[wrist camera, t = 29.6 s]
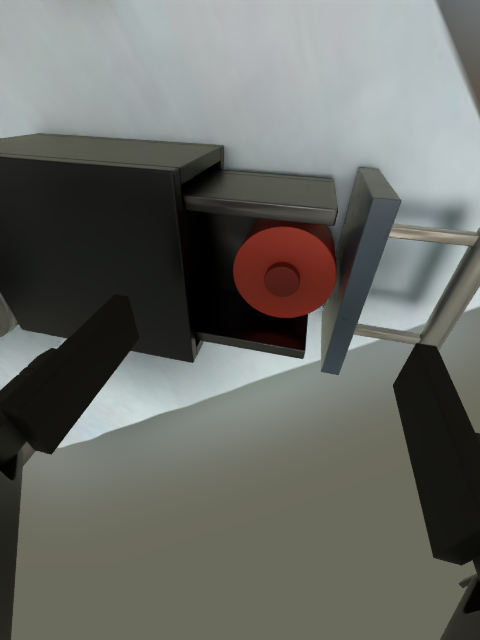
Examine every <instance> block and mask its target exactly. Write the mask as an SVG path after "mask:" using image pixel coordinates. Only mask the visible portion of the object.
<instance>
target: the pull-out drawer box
mask: <svg viewBox="0 0 480 640" xmlns="http://www.w3.org/2000/svg"><path fill="white" fill-rule="evenodd" d="M180 186H181V197H182V207H183V218H184V228H185V239H186V249H187V260H188V270H189V280H190V291H191V301H192V312H193V322H194V333H195V340H201V341H206V342H212V343H217V344H223V345H228V346H234V347H239V348H245V349H250V350H256V351H261V352H267V353H272V354H278V355H283V356H289V357H294V358H300V359H303V358H304V354H305V347H306V334H307V321H308V314H306V315H303V316H299V317H293V318H280V317H274V316H270V315H267V314H264V313H262V312H260V311H258V310H256V309H255V308H253V307H252V306H251V305H250V304H248V303H247V302H246V301H245V299H244V298H243V297H242V296H241V294H240V293H239V291H238V289H237V287H236V284H235V281H234V275H233V266H234V261H235V257H236V255H237V252H238V251H239V249H240V247H241V245H242V243H243V242H244V240H245V238H246V236H247V234H248V233H249V231H250V229H251V228H252V226H253V225H254V224H255V223H256V222H257V221H258V220H259V219H260V218H263V219H273V220H282V221H292V222H301V223H311V224H320V225H330V226H334V225H335V221H336V217H337V213H338V207H337V198H336V189H335V181H334V179H324V178H311V177H299V176H286V175H273V174H261V173H248V172H236V171H223V170H211V169H206V170H204V171H203V172H201V173H199V174H198V175H196V176H195V177H193V178H191V179H190V180H188V181H187V182H185V183H184V184H182V185H180ZM400 204H401V199H400V198H399V196H398V195H397V194H396V192H395V191H394V189H393V188H392V187H391V185H390V184H389V183H388V181H387V180H386V178H385V177H384V176H383V174H382V173H381V172H380V170H379V169H371V168H359V169H358V173H357V177H356V181H355V185H354V189H353V193H352V197H351V201H350V205H349V209H348V213H347V217H346V220H345V224H344V228H343V232H342V236H341V240H340V244H339V248H338V252H337V256H336V271H337V273H336V282H335V286H334V289H333V291H332V293H331V295H330V296H329V298H328V299H327V300H326V301H325V303H324V307H323V311H322V328H321V372H325V373H330V374H336V375H339V372H340V370H341V367H342V364H343V361H344V359H345V356H346V353H347V350H348V348H349V345H350V342H351V339H352V337H353V334H354V335H360V336H366V337H372V338H379V339H385V340H392V341H397V342H403V343H410V344H415V345H416V343H421V344H427V345H433V346H437V348H438V351H439V349H440V348H441V346H442V345H443V343H444V342H445V340H446V338H447V337H448V335H449V334H450V332H451V330H452V329H453V327H454V326H455V324H456V322H457V321H458V320H459V318H460V317H461V315H462V313H463V312H464V310H465V309H466V307H467V306H468V304H469V302H470V301H471V299H472V298H473V296H474V295H475V293H476V291H477V290H478V288H479V287H480V228H479V229H478V230H477V232H476V233H475V232H471V231H461V230H451V229H441V228H431V227H422V226H412V225H402V224H393V223H394V220H395V217H396V215H397V212H398V209H399V206H400ZM388 237H391V238H400V239H409V240H419V241H428V242H437V243H446V244H456V245H465V246H469V247H468V248H467V250H466V252H465V254H464V256H463V257H462V259H461V261H460V263H459V265H458V267H457V268H456V270H455V272H454V274H453V276H452V277H451V279H450V281H449V283H448V285H447V286H446V288H445V290H444V292H443V294H442V295H441V297H440V299H439V301H438V303H437V304H436V306H435V308H434V310H433V312H432V314H431V315H430V317H429V319H428V321H427V323H426V324H425V326H424V328H423V330H422V332H421V334H419V333H414V332H407V331H401V330H395V329H388V328H382V327H376V326H369V325H363V324H357V323H358V320H359V317H360V314H361V312H362V309H363V306H364V303H365V301H366V298H367V295H368V292H369V289H370V287H371V284H372V281H373V278H374V276H375V273H376V270H377V267H378V265H379V262H380V259H381V256H382V253H383V251H384V248H385V245H386V242H387V240H388Z"/></svg>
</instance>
